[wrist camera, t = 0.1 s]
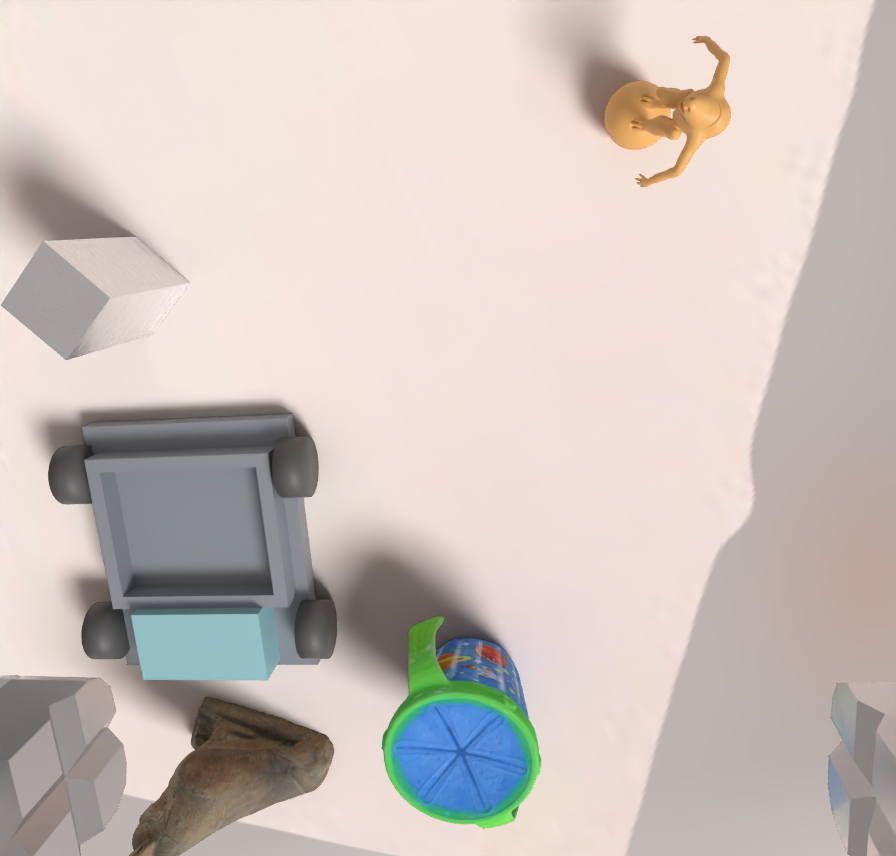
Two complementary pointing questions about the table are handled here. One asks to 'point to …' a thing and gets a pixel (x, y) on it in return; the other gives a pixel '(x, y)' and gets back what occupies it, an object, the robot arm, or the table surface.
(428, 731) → the snack cup
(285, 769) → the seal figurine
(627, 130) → the figurine
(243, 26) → the table surface
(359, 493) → the table surface
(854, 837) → the robot arm
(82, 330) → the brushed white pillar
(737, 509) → the table surface
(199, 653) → the toy truck
